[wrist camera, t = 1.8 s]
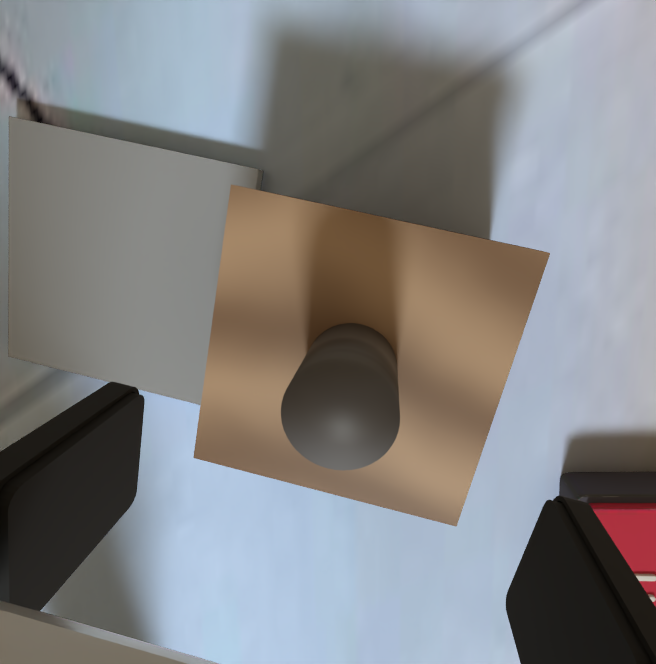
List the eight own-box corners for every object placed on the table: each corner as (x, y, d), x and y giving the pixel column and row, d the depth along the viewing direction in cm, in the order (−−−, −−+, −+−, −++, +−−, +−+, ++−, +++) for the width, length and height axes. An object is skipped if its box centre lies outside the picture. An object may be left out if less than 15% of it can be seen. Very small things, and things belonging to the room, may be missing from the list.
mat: (227, 404, 30) (222, 410, 29) (19, 352, 31) (8, 356, 30) (263, 170, 26) (258, 169, 25) (22, 119, 27) (8, 116, 26)
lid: (450, 500, 23) (476, 618, 16) (209, 438, 24) (139, 526, 17) (534, 249, 19) (610, 269, 13) (245, 187, 20) (175, 175, 14)
